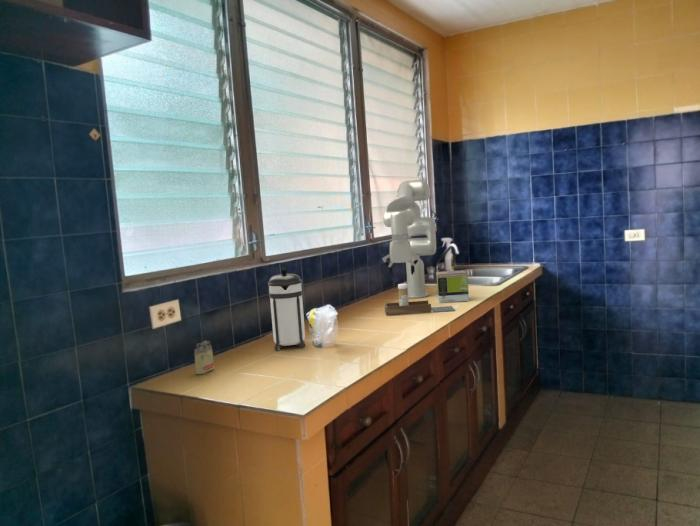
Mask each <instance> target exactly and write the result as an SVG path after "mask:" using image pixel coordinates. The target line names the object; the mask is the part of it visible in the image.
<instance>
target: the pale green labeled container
mask: <svg viewBox="0 0 700 526" xmlns="http://www.w3.org/2000/svg"><path fill="white" fill-rule="evenodd" d="M212 347H213V346H212V345H211V341H210V340H206V339H205V340H204V341H202V342H200V343H199V342H198V343H196V348H194V365H195V373H196V375H203V374H207V373H209V372H210V371H213V370H215V365H214V355H213V353H214V352H213V348H212Z"/></svg>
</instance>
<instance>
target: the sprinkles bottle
mask: <svg viewBox="0 0 700 526" xmlns="http://www.w3.org/2000/svg"><path fill="white" fill-rule="evenodd" d="M397 289H398V302H399V306H406V305H408V302H409V298H408V284H407V283H398V284H397Z"/></svg>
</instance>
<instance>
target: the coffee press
mask: <svg viewBox="0 0 700 526" xmlns="http://www.w3.org/2000/svg"><path fill="white" fill-rule="evenodd" d="M280 272H281V274H276V275H272V276H271V277H269V280H268V282H267V285H268V291H269V292H268V296H269V302H270V314H271V315H270V316H271V324H272V325H271V326H272V337H273V342H274V344H275V345H274V350H275V351H280V350H281V348H282V347H283V346H285V347H287V346H294V345H297V346H298V347H299V348H301V349H304V348H306V344H305V339H306V330H305V329H306V327H305V316H304V314H305V313H304V304H303V288H302V283H303V280H302V279H301V277H300V275H298V274H296V273H287V272H288V270H287V268H286V267H281V270H280Z"/></svg>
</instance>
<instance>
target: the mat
mask: <svg viewBox="0 0 700 526" xmlns="http://www.w3.org/2000/svg"><path fill="white" fill-rule="evenodd" d="M431 312H433V313H444V312H445V313H447V312H456V309H455V308H454V307H453V306H452V305H449V306H435V307H434V306H433V307H432V306H431Z"/></svg>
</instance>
